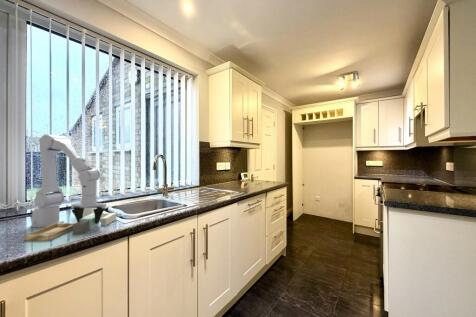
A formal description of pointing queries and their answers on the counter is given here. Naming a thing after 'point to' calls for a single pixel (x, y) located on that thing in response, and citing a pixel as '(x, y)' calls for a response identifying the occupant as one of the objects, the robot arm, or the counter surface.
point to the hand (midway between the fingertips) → (88, 223)
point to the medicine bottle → (87, 210)
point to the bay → (105, 218)
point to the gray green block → (84, 225)
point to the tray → (49, 232)
